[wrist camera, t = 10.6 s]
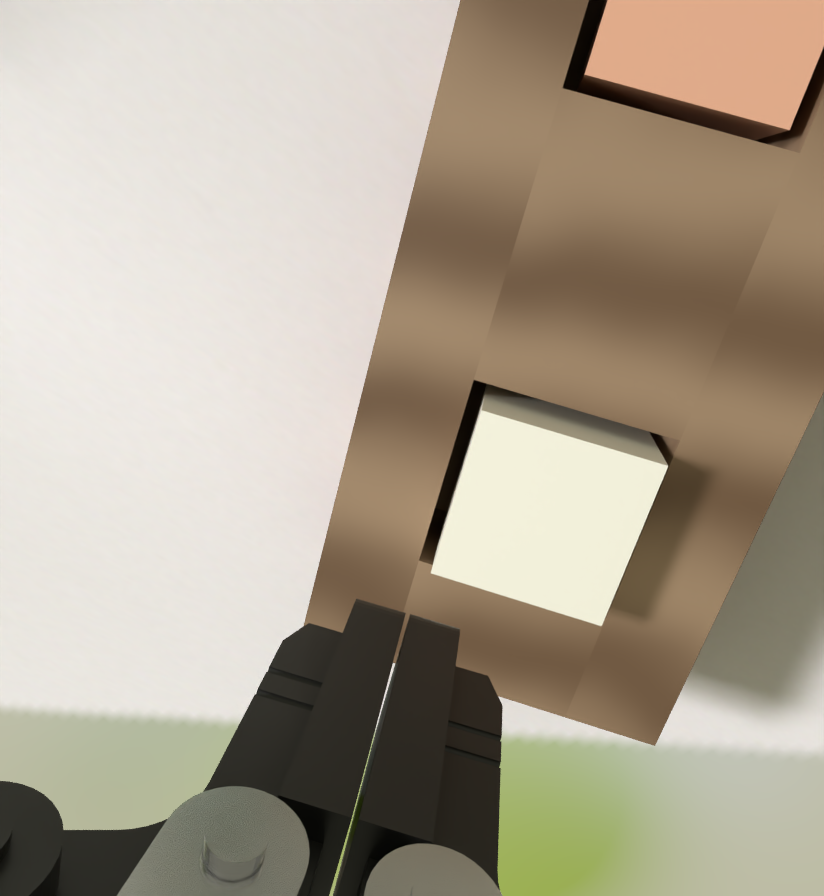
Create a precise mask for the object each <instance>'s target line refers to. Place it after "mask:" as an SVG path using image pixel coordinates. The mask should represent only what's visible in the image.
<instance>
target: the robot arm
mask: <svg viewBox="0 0 824 896" xmlns="http://www.w3.org/2000/svg"><path fill="white" fill-rule="evenodd" d="M405 614H406V613H404V612H401V611H398V610H394V609H391V608H387V607H384V606H381V605H377V604H374V603H370V602H367V601H364V600H360V599H356V600H355V603H354V605H353V608H352V610H351V613H350V615H349V618H348V620H347V623H346V625H345V628H344V630H343V633H342V632H338V631H335V630H331V629H328V628H325V627H321V626H318V625H315V624H311V623H308V624H307V625H305V626H304V627H302V628H301V629H299V630H298V631H296V632H295V633H293V634H292V635H290V636H289V637H287V638H286V639H285V640H283V641H282V643H281V645H280V647H279V649H278V651H277V653H276V655H275V657H274V659H273V661H272V663H271V665H270V666H269V670H268V672H266V674H265V676H264V678H263V680H262V682H261V684H260V686H259V688H258V690H257V693H256V695H254V697H253V699H252V701H251V703H250V705H249V707H248V709H247V711H246V713H245V715H244V716H243V718H242V720H241V722H240V724H239V726H238V728H237V730H236V732H235V734H234V736H233V738H232V740H231V742H230V744H229V745H228V747H227V749H226V751H225V753H224V755H223V757H222V759H221V761H220V763H219V765H218V767H217V768H216V771H215V772H214V774H213V776H212V778H211V780H210V782H209V784H208V785H207V787H206V788H205V790H204V791H203V792H202V793H200V794H198V795H195V796H193V797H192V798H190V799H189V800H187V801H186V802H184V803H183V804H182V805H180V806H179V807H178V808H177V809H176V810H175V811H174V812H173V813H172V814H171V816H170V817H169V818H168V819H166V820H164V821H162V822H159V823H156V824H153V825H149V826H146V827H141V828H136V829H127V830H63V824H62V819H61V817H60V814H59V812H58V810H57V808H56V807H55V806H54V804H53V803H52V802H51V801H50V800H49V799H48V798H47V797H46V796H45V795H44V794H42V793H40V792H39V791H37V790H35V789H33V788H31V787H28V786H25V785H23V784H18V783H13V782H6V781H0V896H329V894H330V890H331V887H332V883H333V880H334V877H335V873H336V870H337V866H338V863H339V859H340V856H341V852H342V849H343V846H344V842H345V839H346V835H347V832H348V829H349V825H350V822H351V819H352V815H353V811H354V807H355V803H356V799H357V796H358V792H359V788H360V784H361V781H362V777H363V773H364V769H365V765H366V762H367V758H368V754H369V750H370V747H371V743H372V739H373V735H374V732H375V728H376V724H377V720H378V716H379V713H380V709H381V705H382V701H383V698H384V694H385V690H386V686H387V682H388V679H389V675H390V671H391V667H392V664H393V660H394V656H395V652H396V648H397V645H398V641H399V637H400V633H401V629H402V626H403V622H404V618H405ZM459 637H460V629H459V628H456V627H453V626H449V625H446V624H442V623H439V622H436V621H432V620H429V619H425V618H422V617H419V616H415V615H412V614H410V616H409V619H408V623H407V626H406V629H405V633H404V636H403V640H402V643H401V647H400V650H399V653H398V657H397V660H396V664H395V667H394V671H393V674H392V677H391V681H390V684H389V688H388V691H387V694H386V698H385V701H384V705H383V708H382V712H381V715H380V719H379V723H378V726H377V730H376V733H375V737H374V741H373V745H372V748H371V752H370V756H369V760H368V764H367V767H366V771H365V775H364V779H363V783H362V786H361V790H360V794H359V798H358V802H357V806H356V809H355V813H354V817H353V821H352V825H351V829H350V832H349V836H348V840H347V844H346V848H345V851H344V856H343V859H342V863H341V867H340V871H339V874H338V878H337V882H336V886H335V890H334V893H333V896H502V894H501V892H500V889H499V884H498V873H497V866H498V865H497V864H498V833H499V832H498V831H499V799H500V768H499V766H500V762H501V742H500V740H501V735H502V704H501V702H500V700H499V698H498V695H497V693H496V691H495V689H494V687H493V685H492V683H491V681H490V679H489V676H487V675H484V674H481V673H477V672H474V671H470V670H467V669H464V668H460V667H457V666H456V660H457V652H458V644H459Z"/></svg>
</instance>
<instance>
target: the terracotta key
mask: <svg viewBox="0 0 824 896" xmlns="http://www.w3.org/2000/svg"><path fill="white" fill-rule="evenodd" d="M823 47H824V0H604V4H603V7H602V10H601V13H600V17H599V20H598V23H597V26H596V29H595V33H594V36H593V39H592V42H591V46H590V49H589V52H588V55H587V58H586V62H585V65H584V68H583V71H582V75H581V78H580V81H579V84H578V87H577V91H576V92H578V93H582V94H585V95H589V96H593V97H596V98H600V99H604V100H607V101H611V102H615V103H618V104H622V105H626V106H629V107H633V108H637V109H640V110H644V111H648V112H651V113H655V114H659V115H662V116H666V117H670V118H673V119H677V120H681V121H684V122H688V123H691V124H695V125H699V126H702V127H706V128H710V129H713V130H717V131H721V132H724V133H728V134H732V135H735V136H739V137H743V138H746V139H750V140H757V139H761V138H764V137H768V136H771V135H775V134H778V133H782V132H785V131H789V130H790V128H791V126H792V123H793V121H794V118H795V116H796V113H797V111H798V108H799V106H800V103H801V101H802V99H803V96H804V94H805V91H806V89H807V86H808V84H809V81H810V79H811V77H812V74H813V72H814V69H815V67H816V64H817V62H818V59H819V57H820V54H821V52H822V50H823Z"/></svg>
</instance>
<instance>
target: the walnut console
mask: <svg viewBox="0 0 824 896" xmlns="http://www.w3.org/2000/svg"><path fill="white" fill-rule="evenodd" d="M603 4H604V0H460V4H459V8H458V12H457V16H456V20H455V24H454V28H453V32H452V36H451V40H450V44H449V48H448V52H447V56H446V60H445V64H444V68H443V72H442V76H441V80H440V84H439V88H438V92H437V96H436V100H435V104H434V108H433V112H432V116H431V120H430V124H429V128H428V132H427V136H426V140H425V144H424V148H423V152H422V156H421V160H420V164H419V168H418V172H417V176H416V180H415V184H414V188H413V192H412V196H411V200H410V204H409V208H408V212H407V216H406V220H405V224H404V228H403V232H402V236H401V240H400V244H399V248H398V252H397V256H396V260H395V264H394V268H393V271H392V275H391V279H390V283H389V287H388V291H387V295H386V299H385V303H384V307H383V311H382V315H381V319H380V323H379V327H378V331H377V335H376V339H375V343H374V347H373V351H372V355H371V359H370V363H369V367H368V371H367V375H366V379H365V383H364V387H363V391H362V395H361V399H360V403H359V407H358V411H357V415H356V419H355V423H354V427H353V431H352V435H351V439H350V443H349V447H348V451H347V455H346V459H345V463H344V467H343V471H342V475H341V479H340V483H339V487H338V491H337V495H336V499H335V503H334V507H333V511H332V515H331V519H330V523H329V527H328V531H327V535H326V539H325V543H324V547H323V551H322V555H321V559H320V563H319V567H318V571H317V575H316V579H315V583H314V587H313V591H312V595H311V599H310V603H309V607H308V611H307V615H306V619H305V623H304V626H305V625H307V624H308V623H311V624H315V625H318V626H321V627H325V628H328V629H331V630H335V631H338V632H342V633H343V630H344V628H345V625H346V623H347V620H348V618H349V615H350V613H351V610H352V608H353V605H354V603H355V600H356V599H360V600H364V601H367V602H370V603H374V604H377V605H381V606H384V607H387V608H391V609H394V610H398V611H401V612H404V613H406V614H405V618H404V622H403V626H402V629H401V633H400V637H399V641H398V645H397V648H396V652H395V656H394V660H393V663H396V660H397V657H398V653H399V650H400V647H401V643H402V640H403V636H404V633H405V629H406V626H407V623H408V619H409V616H410V614H412V615H415V616H419V617H422V618H425V619H429V620H432V621H436V622H439V623H442V624H446V625H449V626H453V627H456V628H459V629H460V637H459V644H458V652H457V660H456V666H457V667H460V668H464V669H467V670H470V671H474V672H477V673H481V674H484V675H487V676H489V679H490V681H491V683H492V685H493V687H494V689H495V691H496V693H497V695H498V696H500V697H503V698H506V699H509V700H512V701H516V702H519V703H522V704H525V705H528V706H531V707H534V708H538V709H541V710H544V711H547V712H550V713H553V714H557V715H560V716H563V717H566V718H569V719H572V720H575V721H579V722H582V723H585V724H588V725H591V726H594V727H597V728H601V729H604V730H607V731H610V732H613V733H616V734H619V735H623V736H626V737H629V738H632V739H635V740H638V741H641V742H645V743H648V744H651V745H654V746H655V744H656V742H657V740H658V738H659V736H660V734H661V732H662V730H663V728H664V726H665V723H666V721H667V719H668V717H669V715H670V713H671V711H672V709H673V707H674V705H675V703H676V700H677V698H678V696H679V694H680V692H681V690H682V688H683V686H684V684H685V682H686V679H687V677H688V675H689V673H690V671H691V669H692V667H693V665H694V663H695V661H696V659H697V656H698V654H699V652H700V650H701V648H702V646H703V644H704V642H705V640H706V638H707V635H708V633H709V631H710V629H711V627H712V625H713V623H714V621H715V619H716V617H717V615H718V612H719V610H720V608H721V606H722V604H723V602H724V600H725V598H726V596H727V594H728V591H729V589H730V587H731V585H732V583H733V581H734V579H735V577H736V575H737V573H738V571H739V568H740V566H741V564H742V562H743V560H744V558H745V556H746V554H747V552H748V550H749V547H750V545H751V543H752V541H753V539H754V537H755V535H756V533H757V531H758V529H759V527H760V524H761V522H762V520H763V518H764V516H765V514H766V512H767V510H768V508H769V506H770V503H771V501H772V499H773V497H774V495H775V493H776V491H777V489H778V487H779V485H780V483H781V480H782V478H783V476H784V474H785V472H786V470H787V468H788V466H789V464H790V462H791V459H792V457H793V455H794V453H795V451H796V449H797V447H798V445H799V443H800V441H801V439H802V436H803V434H804V432H805V430H806V428H807V426H808V424H809V422H810V420H811V418H812V415H813V413H814V411H815V409H816V407H817V405H818V403H819V401H820V399H821V397H822V395H823V392H824V47H823V50H822V52H821V54H820V57H819V59H818V62H817V64H816V67H815V69H814V72H813V74H812V77H811V79H810V81H809V84H808V86H807V89H806V91H805V94H804V96H803V99H802V101H801V103H800V106H799V108H798V111H797V113H796V116H795V118H794V121H793V123H792V126H791V128H790V130H789V131H785V132H782V133H778V134H775V135H771V136H768V137H764V138H761V139H757V140H750V139H746V138H743V137H739V136H735V135H732V134H728V133H724V132H721V131H717V130H713V129H710V128H706V127H702V126H699V125H695V124H691V123H688V122H684V121H681V120H677V119H673V118H670V117H666V116H662V115H659V114H655V113H651V112H648V111H644V110H640V109H637V108H633V107H629V106H626V105H622V104H618V103H615V102H611V101H607V100H604V99H600V98H596V97H593V96H589V95H585V94H582V93H578V92H576V91H577V87H578V84H579V81H580V78H581V75H582V71H583V68H584V65H585V62H586V58H587V55H588V52H589V49H590V46H591V42H592V39H593V36H594V33H595V29H596V26H597V23H598V20H599V17H600V13H601V10H602V7H603ZM486 384H490V385H493V386H497V387H500V388H503V389H507V390H510V391H513V392H517V393H520V394H524V395H527V396H530V397H534V398H537V399H541V400H544V401H547V402H551V403H554V404H557V405H561V406H564V407H568V408H571V409H574V410H578V411H581V412H584V413H588V414H591V415H595V416H598V417H601V418H605V419H608V420H611V421H615V422H618V423H622V424H625V425H628V426H632V427H635V428H639V429H642V430H645V431H649V432H650V434H651V436H652V438H653V440H654V441H655V443H656V445H657V447H658V448H659V450H660V452H661V454H662V456H663V457H664V459H665V461H666V463H667V464H668V468H667V470H666V473H665V475H664V478H663V480H662V482H661V485H660V487H659V490H658V492H657V494H656V497H655V499H654V502H653V504H652V506H651V509H650V511H649V514H648V516H647V518H646V521H645V523H644V526H643V528H642V530H641V533H640V535H639V538H638V540H637V542H636V545H635V547H634V550H633V552H632V554H631V557H630V559H629V562H628V564H627V566H626V569H625V571H624V574H623V576H622V578H621V581H620V583H619V586H618V588H617V591H616V593H615V595H614V598H613V600H612V603H611V605H610V607H609V610H608V612H607V615H606V617H605V619H604V622H603V624H602V626H599V625H596V624H593V623H589V622H586V621H583V620H580V619H576V618H573V617H570V616H567V615H564V614H560V613H557V612H554V611H551V610H547V609H544V608H541V607H538V606H535V605H531V604H528V603H525V602H522V601H518V600H515V599H512V598H509V597H506V596H502V595H499V594H496V593H493V592H489V591H486V590H483V589H480V588H477V587H473V586H470V585H467V584H464V583H461V582H457V581H454V580H451V579H448V578H444V577H441V576H438V575H435V574H432V573H431V570H432V566H433V562H434V558H435V554H436V550H437V546H438V542H439V538H440V534H441V530H442V526H443V523H444V520H445V516H446V513H447V510H448V507H449V504H450V500H451V497H452V494H453V491H454V487H455V484H456V481H457V478H458V475H459V471H460V468H461V465H462V462H463V458H464V455H465V452H466V449H467V446H468V442H469V439H470V436H471V433H472V429H473V426H474V423H475V420H476V417H477V413H478V410H479V407H480V404H481V400H482V397H483V394H484V391H485V388H486Z"/></svg>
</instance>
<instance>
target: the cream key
mask: <svg viewBox="0 0 824 896" xmlns="http://www.w3.org/2000/svg"><path fill="white" fill-rule="evenodd" d="M667 468H668V464H667V463H666V461H665V459H664V457H663V456H662V454H661V452H660V450H659V448H658V447H657V445H656V443H655V441H654V440H653V438H652V436H651V434H650V432H649V431H645V430H642V429H639V428H635V427H632V426H628V425H625V424H622V423H618V422H615V421H611V420H608V419H605V418H601V417H598V416H595V415H591V414H588V413H584V412H581V411H578V410H574V409H571V408H568V407H564V406H561V405H557V404H554V403H551V402H547V401H544V400H541V399H537V398H534V397H530V396H527V395H524V394H520V393H517V392H513V391H510V390H507V389H503V388H500V387H497V386H493V385H490V384H486V388H485V391H484V394H483V397H482V400H481V404H480V407H479V410H478V413H477V417H476V420H475V423H474V426H473V429H472V433H471V436H470V439H469V442H468V446H467V449H466V452H465V455H464V458H463V462H462V465H461V468H460V471H459V475H458V478H457V481H456V484H455V487H454V491H453V494H452V497H451V500H450V504H449V507H448V510H447V513H446V516H445V520H444V523H443V526H442V530H441V534H440V538H439V542H438V546H437V550H436V554H435V558H434V562H433V566H432V570H431V573H432V574H435V575H438V576H441V577H444V578H448V579H451V580H454V581H457V582H461V583H464V584H467V585H470V586H473V587H477V588H480V589H483V590H486V591H489V592H493V593H496V594H499V595H502V596H506V597H509V598H512V599H515V600H518V601H522V602H525V603H528V604H531V605H535V606H538V607H541V608H544V609H547V610H551V611H554V612H557V613H560V614H564V615H567V616H570V617H573V618H576V619H580V620H583V621H586V622H589V623H593V624H596V625H599V626H602V624H603V622H604V619H605V617H606V615H607V612H608V610H609V607H610V605H611V603H612V600H613V598H614V595H615V593H616V591H617V588H618V586H619V583H620V581H621V578H622V576H623V574H624V571H625V569H626V566H627V564H628V562H629V559H630V557H631V554H632V552H633V550H634V547H635V545H636V542H637V540H638V538H639V535H640V533H641V530H642V528H643V526H644V523H645V521H646V518H647V516H648V514H649V511H650V509H651V506H652V504H653V502H654V499H655V497H656V494H657V492H658V490H659V487H660V485H661V482H662V480H663V478H664V475H665V473H666V470H667Z"/></svg>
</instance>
